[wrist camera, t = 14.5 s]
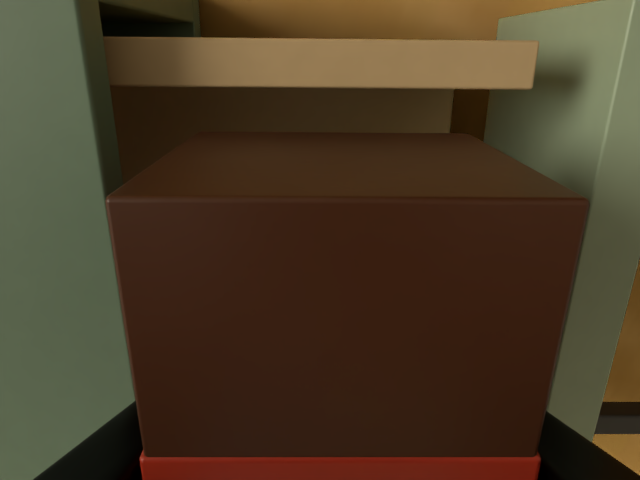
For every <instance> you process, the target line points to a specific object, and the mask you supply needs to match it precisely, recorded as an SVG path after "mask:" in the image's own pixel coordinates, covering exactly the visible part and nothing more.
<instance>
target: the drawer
mask: <svg viewBox="0 0 640 480" xmlns="http://www.w3.org/2000/svg"><path fill="white" fill-rule="evenodd" d="M103 41H104V48H105V55H106V63H107V70H108V77H109V85H110V92H111V99H112V106H113V114H114V121H115V128H116V136H117V143H118V150H119V157H120V165H121V172H122V179H123V185H124V184H125V183H127V182H128V181H129V180H131V179H132V178H134V177H135V176H137V175H138V174H139V173H141V172H142V171H144V170H145V169H147V168H148V167H149V166H151V165H152V164H154V163H155V162H157V161H158V160H159V159H161V158H162V157H164V156H165V155H167V154H168V153H169V152H171V151H172V150H174V149H175V148H177V147H178V146H179V145H181V144H182V143H184V142H185V141H187V140H188V139H190V138H191V137H192V136H194V135H195V134H197V133H198V132H339V133H450V127H451V117H452V107H453V97H454V89H483V90H490V93H489V101H488V109H487V117H486V125H485V133H484V141H483V142H484V143H486V144H488V145H490V146H492V147H493V148H495V149H497V150H499V151H501V152H503V153H504V154H506V155H508V156H510V157H512V158H514V159H515V160H517V161H519V162H521V163H523V164H525V165H526V166H528V167H530V168H532V169H534V170H536V171H537V172H539V173H541V174H543V175H545V176H547V177H548V178H550V179H552V180H554V181H556V182H558V183H559V184H561V185H563V186H565V187H567V188H569V189H570V190H572V191H574V192H576V193H578V194H580V195H581V196H583V197H585V198H587V199H588V200H589V205H590V206H589V210H588V215H587V220H586V225H585V229H584V234H583V239H582V244H581V248H580V253H579V258H578V262H577V267H576V272H575V277H574V281H573V286H572V291H571V295H570V300H569V305H568V310H567V314H566V319H565V324H564V328H563V333H562V338H561V343H560V347H559V352H558V357H557V361H556V366H555V371H554V376H553V380H552V385H551V390H550V395H549V399H548V404H547V409H546V411H547V412H549V413H550V414H552V415H553V416H555V417H556V418H557V419H559V420H560V421H562V422H563V423H565V424H566V425H568V426H569V427H570V428H572V429H573V430H575V431H576V432H578V433H579V434H580V435H582V436H583V437H585V438H586V439H588V440H589V441H590V442H592V440H593V436H594V434H640V402H602V401H603V398H604V394H605V390H606V386H607V382H608V378H609V374H610V370H611V367H612V363H613V359H614V355H615V351H616V347H617V343H618V340H619V336H620V332H621V328H622V324H623V320H624V316H625V313H626V309H627V305H628V301H629V297H630V293H631V289H632V286H633V282H634V278H635V274H636V270H637V266H638V262H639V258H640V0H600V1H594V2H589V3H583V4H577V5H572V6H566V7H561V8H555V9H549V10H544V11H538V12H532V13H527V14H521V15H516V16H510V17H504V18H500V19H499V21H498V29H497V37H496V40H428V39H318V38H208V37H103Z"/></svg>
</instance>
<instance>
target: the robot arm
mask: <svg viewBox="0 0 640 480" xmlns="http://www.w3.org/2000/svg"><path fill="white" fill-rule="evenodd" d="M142 451H143V445H142V439H141V432H140V426H139V419H138V413H137V406H136V400H135V401H134V402H133V403H131V404H130V405H129V406H128V407H126V408H125V409H124V410H122V411H121V412H120V413H118V414H117V415H116V416H115V417H113V418H112V419H111V420H109V421H108V422H107V423H105V424H104V425H103V426H102V427H100V428H99V429H98V430H96V431H95V432H94V433H92V434H91V435H90V436H89V437H87V438H86V439H85V440H83V441H82V442H81V443H80V444H78V445H77V446H76V447H74V448H73V449H72V450H70V451H69V452H68V453H67V454H65V455H64V456H63V457H61V458H60V459H59V460H57V461H56V462H55V463H54V464H52V465H51V466H50V467H48V468H47V469H46V470H44V471H43V472H42V473H41V474H39V475H38V476H37V477H35V478H34V479H33V480H142V474H141V467H140V460H139V459H140V456H141V453H142ZM538 453H539V455H540V458H541V464H540V469H539V473H538V478H537V480H640V476H639V475H638V474H636V473H635V472H634V471H632V470H631V469H629V468H628V467H626V466H625V465H624V464H622V463H621V462H619V461H618V460H616V459H615V458H613V457H612V456H611V455H609V454H608V453H606V452H605V451H603V450H602V449H601V448H599V447H598V446H596V445H595V444H593V443H592V442H590V441H589V440H588V439H586V438H585V437H583V436H582V435H580V434H579V433H578V432H576V431H575V430H573V429H572V428H570V427H569V426H568V425H566V424H565V423H563V422H562V421H560V420H559V419H557V418H556V417H555V416H553V415H552V414H550V413H549V412H547V411H546V413H545V418H544V423H543V428H542V432H541V437H540V442H539V446H538Z"/></svg>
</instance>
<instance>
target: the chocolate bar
mask: <svg viewBox="0 0 640 480" xmlns="http://www.w3.org/2000/svg"><path fill="white" fill-rule="evenodd" d="M105 204H106V210H107V217H108V223H109V230H110V236H111V243H112V250H113V256H114V263H115V269H116V276H117V282H118V289H119V295H120V302H121V308H122V315H123V321H124V328H125V334H126V341H127V347H128V354H129V360H130V367H131V374H132V380H133V387H134V393H135V400H136V406H137V413H138V419H139V426H140V432H141V439H142V445H143V451H142V453H141V456H140V459H139V460H140V467H141V474H142V480H537V478H538V473H539V469H540V464H541V458H540V455H539V453H538V446H539V442H540V437H541V432H542V428H543V423H544V418H545V413H546V409H547V404H548V399H549V395H550V390H551V385H552V380H553V376H554V371H555V366H556V361H557V357H558V352H559V347H560V343H561V338H562V333H563V328H564V324H565V319H566V314H567V310H568V305H569V300H570V295H571V291H572V286H573V281H574V277H575V272H576V267H577V262H578V258H579V253H580V248H581V244H582V239H583V234H584V229H585V225H586V220H587V215H588V210H589V206H590V205H589V200H588V199H587V198H585V197H583V196H581V195H580V194H578V193H576V192H574V191H572V190H570V189H569V188H567V187H565V186H563V185H561V184H559V183H558V182H556V181H554V180H552V179H550V178H548V177H547V176H545V175H543V174H541V173H539V172H537V171H536V170H534V169H532V168H530V167H528V166H526V165H525V164H523V163H521V162H519V161H517V160H515V159H514V158H512V157H510V156H508V155H506V154H504V153H503V152H501V151H499V150H497V149H495V148H493V147H492V146H490V145H488V144H486V143H484V142H482V141H481V140H479V139H477V138H475V137H473V136H471V135H470V134H467V133H339V132H198V133H197V134H195V135H194V136H192V137H191V138H190V139H188V140H187V141H185V142H184V143H182V144H181V145H179V146H178V147H177V148H175V149H174V150H172V151H171V152H169V153H168V154H167V155H165V156H164V157H162V158H161V159H159V160H158V161H157V162H155V163H154V164H152V165H151V166H149V167H148V168H147V169H145V170H144V171H142V172H141V173H139V174H138V175H137V176H135V177H134V178H132V179H131V180H129V181H128V182H127V183H125V184H124V185H122V186H121V187H119V188H118V189H117V190H115V191H114V192H112V193H111V194H109V195H108V196H107V197H106V200H105Z"/></svg>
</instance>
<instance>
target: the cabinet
mask: <svg viewBox="0 0 640 480" xmlns="http://www.w3.org/2000/svg"><path fill="white" fill-rule="evenodd" d="M103 37H201V29H200V15H199V2H198V0H0V480H33V479H34V478H35V477H37V476H38V475H39V474H41V473H42V472H43V471H44V470H46V469H47V468H48V467H50V466H51V465H52V464H54V463H55V462H56V461H57V460H59V459H60V458H61V457H63V456H64V455H65V454H67V453H68V452H69V451H70V450H72V449H73V448H74V447H76V446H77V445H78V444H80V443H81V442H82V441H83V440H85V439H86V438H87V437H89V436H90V435H91V434H92V433H94V432H95V431H96V430H98V429H99V428H100V427H102V426H103V425H104V424H105V423H107V422H108V421H109V420H111V419H112V418H113V417H115V416H116V415H117V414H118V413H120V412H121V411H122V410H124V409H125V408H126V407H128V406H129V405H130V404H131V403H133V402H134V401H135V393H134V387H133V380H132V374H131V367H130V360H129V354H128V347H127V341H126V334H125V328H124V321H123V315H122V308H121V302H120V295H119V289H118V282H117V276H116V269H115V263H114V256H113V250H112V243H111V236H110V230H109V223H108V217H107V210H106V204H105V200H106V197H107V196H108V195H109V194H111V193H112V192H114V191H115V190H117V189H118V188H119V187H121V186H122V185H123V179H122V172H121V165H120V157H119V150H118V143H117V136H116V128H115V121H114V114H113V106H112V99H111V92H110V85H109V77H108V70H107V63H106V55H105V48H104V41H103Z"/></svg>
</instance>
